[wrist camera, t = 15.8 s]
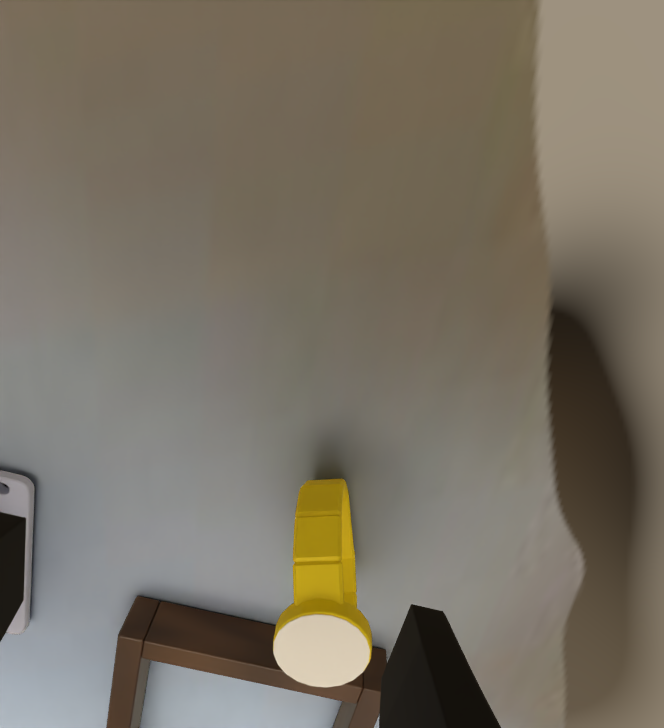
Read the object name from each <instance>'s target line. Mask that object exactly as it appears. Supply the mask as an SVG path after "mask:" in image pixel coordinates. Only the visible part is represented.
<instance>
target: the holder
mask: <svg viewBox="0 0 664 728" xmlns="http://www.w3.org/2000/svg"><path fill="white" fill-rule="evenodd" d="M275 628H276V626H273V625H269V624H264V623H260V622H255V621H250V620H246V619H241V618H237V617H232V616H228V615H223V614H219V613H214V612H210V611H205V610H200V609H196V608H191V607H187V606H182V605H178V604H173V603H169V602H164V601H161V602H159V601H158V600H154V599H150V598H145V597H141V596H137V597H136V598H135V600H134V603H133V605H132V607H131V609H130V611H129V613H128V615H127V617H126V619H125V622H124V624H123V626H122V628H121V630H120V632H119V634H118V640H117V648H116V656H115V664H114V672H113V680H112V688H111V695H110V703H109V711H108V719H107V727H106V728H139V727H140V721H141V715H142V709H143V703H144V697H145V691H146V684H147V678H148V672H149V666H150V660H153V661H158V662H162V663H167V664H172V665H176V666H181V667H186V668H190V669H195V670H200V671H204V672H209V673H214V674H218V675H223V676H228V677H232V678H237V679H242V680H246V681H251V682H256V683H260V684H265V685H270V686H274V687H279V688H284V689H288V690H293V691H298V692H302V693H307V694H312V695H316V696H321V697H326V698H330V699H335V700H340V701H342V704H341V707H340V709H339V712H338V715H337V717H336V720H335V723H334V725H333V728H374V725H375V723H376V721H377V718H378V716H379V714H380V695H381V678H382V675H383V673H384V670H385V668H386V665H387V659H386V650H384V649H379V648H374V647H372V652H371V659H370V662H369V663H368V665H367V667H366V669H365V670H364V671H363V673H361V674H360V675H359V676H358V677H357V678H355V679H354V680H353V681H350V682H348V683H345V684H343V685H341V686H333V687H315V686H310V685H307V684H304V683H301V682H298V681H296V680H294V679H293V678H291V677H290V676H288V675H287V674H286V673H285V672H284V671H283V670H282V669H281V668H280V667H279V665H278V664H277V661H276V659H275V656H274V654H273V639H274V634H275Z"/></svg>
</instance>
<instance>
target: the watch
mask: <svg viewBox="0 0 664 728" xmlns="http://www.w3.org/2000/svg"><path fill="white" fill-rule="evenodd" d="M295 517H296V519H295V525H294V547H293V561H294V562H295V564H294V565H293V585H294V603H293V604H291V605H290V606H289V607H288V608H287V609H286V610H285V611H284V612H283V613H282V614H281V615H280V618H279V620H278V622H277V624H276V628H275V634H274V639H273V654H274V656H275V659H276V661H277V664H278V665H279V667H280V668H281V669H282V670H283V671H284V672H285V673H286V674H287V675H288V676H290V677H291V678H293V679H294V680H296V681H298V682H301V683H304V684H307V685H310V686H315V687H333V686H341V685H343V684H345V683H348V682H350V681H353V680H354V679H355V678H357V677H358V676H359V675H360V674H361V673H363V671H364V670H365V669H366V667H367V665H368V663H369V662H370V659H371V652H372V633H371V629H370V626H369V623H368V621H367V619H366V618H365V617H364V615H363V614H362V613H361V612H360V611H359V610H358V609H357V596H356V592H357V591H356V569H355V551H354V545H353V534H352V524H351V513H350V503H349V492H348V488H347V485H346V481H345V480H343V479H326V480H308V481H307V482H306V483H305V484H304V485H303V486H302V487H301V488H300V491H299V496H298V501H297V507H296V513H295Z"/></svg>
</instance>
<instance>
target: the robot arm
mask: <svg viewBox="0 0 664 728" xmlns="http://www.w3.org/2000/svg"><path fill="white" fill-rule="evenodd" d="M2 483H4V484H6V485H7V486H8V487H9V488H7V487H5V486H4V485H3V484H2ZM34 491H35V489H34V484H33V483H32V481H31V480H30V479H28V478H27V477H25V476H22V475H19V474H14V473H10V472H6V471H1V470H0V641H1V640H2V638H3V636H4V635H5V633H9V634H22V633H23V632H24V631H25V630H26V628H27V627H28V625H29V623H30V598H31V571H32V544H33V518H34ZM379 728H501V727H500V725H499V723H498V721H497V719H496V717H495V715H494V714H493V712H492V710H491V708H490V706H489V704H488V702H487V700H486V698H485V696H484V694H483V692H482V690H481V688H480V686H479V684H478V682H477V680H476V678H475V676H474V674H473V672H472V670H471V668H470V666H469V664H468V662H467V660H466V658H465V656H464V654H463V652H462V650H461V647H460V645H459V643H458V641H457V639H456V637H455V635H454V633H453V630H452V628H451V626H450V624H449V622H448V620H447V618H446V616H445V614H444V613H443V611H439V610H434V609H430V608H426V607H421V606H417V605H412V604H411V606H410V609H409V611H408V614H407V616H406V619H405V621H404V624H403V626H402V628H401V631H400V633H399V636H398V638H397V641H396V643H395V646H394V648H393V651H392V653H391V655H390V658H389V660H388V663H387V665H386V668H385V670H384V673H383V675H382V678H381V695H380V718H379Z"/></svg>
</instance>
